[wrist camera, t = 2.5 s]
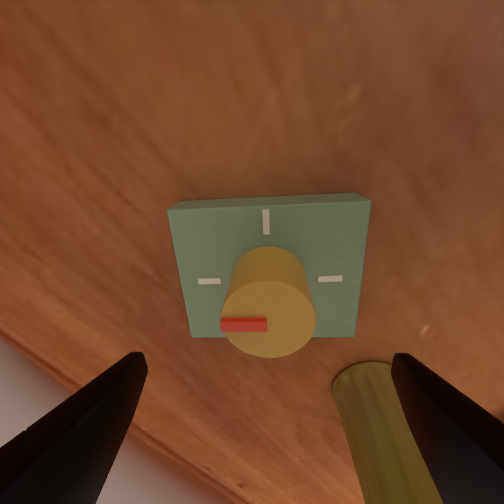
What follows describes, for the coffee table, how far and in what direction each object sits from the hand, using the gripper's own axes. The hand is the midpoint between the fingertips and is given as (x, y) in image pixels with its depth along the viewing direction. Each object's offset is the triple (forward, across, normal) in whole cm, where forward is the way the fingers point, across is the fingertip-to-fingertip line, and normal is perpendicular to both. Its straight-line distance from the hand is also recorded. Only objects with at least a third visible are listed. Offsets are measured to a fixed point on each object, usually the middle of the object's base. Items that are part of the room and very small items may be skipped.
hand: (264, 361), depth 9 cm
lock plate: (+9, 0, 0) cm, 9 cm away
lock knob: (+7, 0, 0) cm, 7 cm away
